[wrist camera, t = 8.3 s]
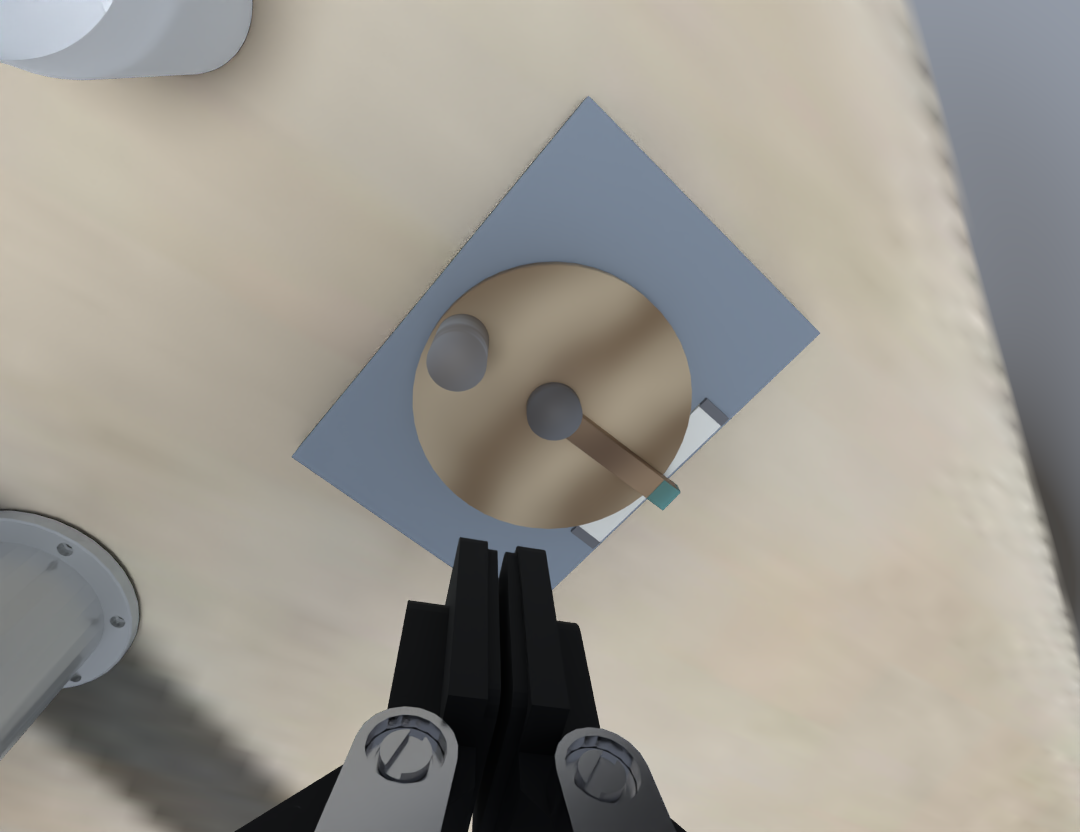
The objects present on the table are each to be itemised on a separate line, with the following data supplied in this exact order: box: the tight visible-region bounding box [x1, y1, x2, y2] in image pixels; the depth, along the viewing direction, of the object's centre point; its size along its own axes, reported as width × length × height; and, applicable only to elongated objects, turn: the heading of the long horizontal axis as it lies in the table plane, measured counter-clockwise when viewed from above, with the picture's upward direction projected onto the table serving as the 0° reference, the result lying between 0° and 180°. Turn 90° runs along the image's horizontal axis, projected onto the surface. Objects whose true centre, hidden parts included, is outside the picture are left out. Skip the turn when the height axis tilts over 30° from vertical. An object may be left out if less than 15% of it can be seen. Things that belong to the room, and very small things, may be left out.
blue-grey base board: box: [292, 96, 820, 589], centre depth 35 cm, size 24×17×2 cm
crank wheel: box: [413, 262, 692, 529], centre depth 32 cm, size 15×14×6 cm
